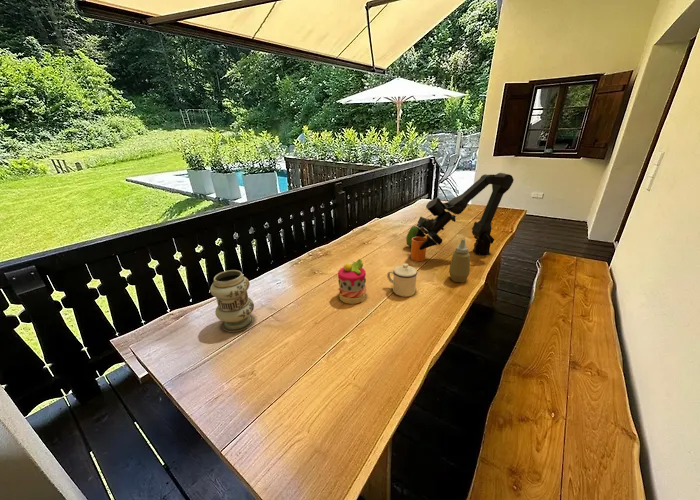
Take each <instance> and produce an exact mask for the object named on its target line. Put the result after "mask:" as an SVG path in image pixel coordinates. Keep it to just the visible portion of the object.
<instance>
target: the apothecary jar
mask: <svg viewBox="0 0 700 500" xmlns="http://www.w3.org/2000/svg"><path fill="white" fill-rule="evenodd" d="M250 283H251V282H250V281H249V279H248V278H247V277H246V276H244V274H243V272H242V271H240V270H237V269H230V270H229V269H228V270H225V271H221V272H219V273H217V274H216V275H215V276H214V277H213V282H212V284H211V286H210V287H209V291H210V292H209V293H210V294H211V296H213V297H215V300H216V303H217V306H216V308H215V310H214V311H215V312H214V313H215V317H216V318H217V319H218V320H220V321H222V324H221V325H222V327H221V328H222V329H223V330H224V331H225V332H228V333H237V332H241V331H244V330H246V329H247V328H250V327H251V326H252V324H253V322H254V318H253V315H251V314H252V313H253V312H254V309H255V303H254V301H253V300H252V299H251V298H250V297H249V294H248V290H249V288H250Z"/></svg>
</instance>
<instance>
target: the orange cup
mask: <svg viewBox="0 0 700 500" xmlns="http://www.w3.org/2000/svg"><path fill="white" fill-rule="evenodd" d="M426 239H427V237H413V238H412V245H411V247H410V248H411V249H410V259H411V260H412V261H415V262H423V261H425V260H426V253H427V248H425V249H422V250H420V249H419V248H420V246H421V245H422V244H423V243H424V242H425V240H426Z"/></svg>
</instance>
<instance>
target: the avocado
mask: <svg viewBox="0 0 700 500" xmlns="http://www.w3.org/2000/svg"><path fill="white" fill-rule="evenodd" d="M417 227H418V226H417V225H412V226H411V227H410V229H409V231H408V232H407V235H406V239H405V242H406V244H407V247H409V248H411V245H412V238H413V237H415V235H416V233H417Z"/></svg>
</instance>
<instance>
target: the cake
mask: <svg viewBox="0 0 700 500" xmlns="http://www.w3.org/2000/svg"><path fill="white" fill-rule="evenodd" d="M363 266H364V263H363V260H362V259H361V258H358V259H357V261H354V262H352V263H350V262H346V263H345V264H344V265H343V267H341V268H340V269H339V270H338V271H337V279H338V282H337V283H338V289H337V290H338V291H339V300H340V301H341V302H343V303H345V304H350V305H352V304H353V305H355V304H359V303H361V302H363V301H364V300H365V299H366V292H367V285H366V282H367V279H366V275H367V274H366V270H365V268H363Z"/></svg>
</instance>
